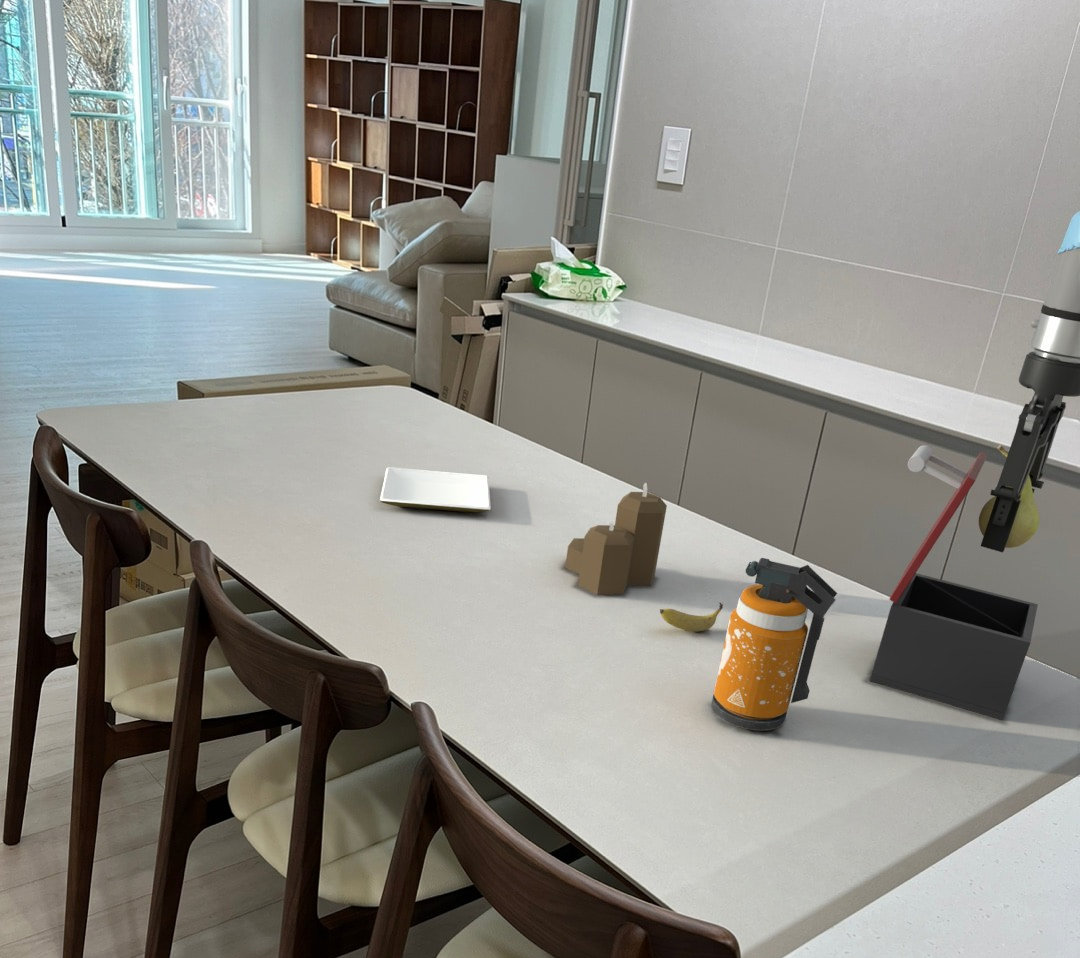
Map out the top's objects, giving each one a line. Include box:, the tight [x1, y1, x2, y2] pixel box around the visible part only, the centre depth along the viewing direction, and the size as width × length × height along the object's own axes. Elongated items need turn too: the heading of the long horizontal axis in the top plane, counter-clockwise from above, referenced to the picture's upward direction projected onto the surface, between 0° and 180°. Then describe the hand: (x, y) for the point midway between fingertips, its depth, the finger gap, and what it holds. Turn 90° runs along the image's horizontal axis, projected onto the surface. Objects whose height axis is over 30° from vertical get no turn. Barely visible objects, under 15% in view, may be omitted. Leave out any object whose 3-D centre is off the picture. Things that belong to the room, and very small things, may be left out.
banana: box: [659, 602, 724, 633], centre depth 148 cm, size 10×2×4 cm, turn 113°
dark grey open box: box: [869, 572, 1039, 721], centre depth 141 cm, size 17×15×11 cm
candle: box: [564, 482, 667, 596], centre depth 160 cm, size 14×14×15 cm
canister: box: [710, 557, 838, 731], centre depth 123 cm, size 9×11×20 cm
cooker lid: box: [889, 444, 988, 603], centre depth 137 cm, size 18×15×8 cm
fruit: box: [978, 444, 1040, 549], centre depth 131 cm, size 7×8×12 cm
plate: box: [379, 466, 492, 514], centre depth 187 cm, size 19×19×2 cm
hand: (999, 541), depth 134 cm, fingers closed on fruit, 7 cm apart
